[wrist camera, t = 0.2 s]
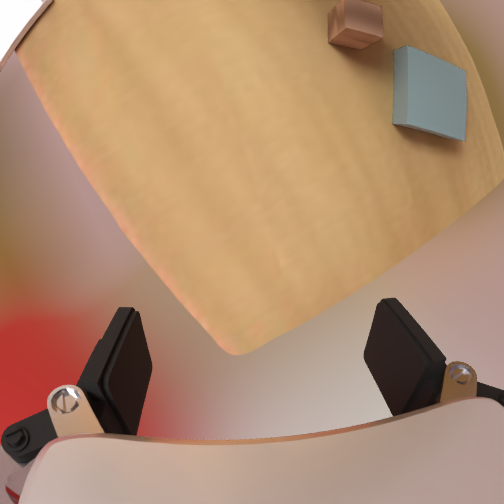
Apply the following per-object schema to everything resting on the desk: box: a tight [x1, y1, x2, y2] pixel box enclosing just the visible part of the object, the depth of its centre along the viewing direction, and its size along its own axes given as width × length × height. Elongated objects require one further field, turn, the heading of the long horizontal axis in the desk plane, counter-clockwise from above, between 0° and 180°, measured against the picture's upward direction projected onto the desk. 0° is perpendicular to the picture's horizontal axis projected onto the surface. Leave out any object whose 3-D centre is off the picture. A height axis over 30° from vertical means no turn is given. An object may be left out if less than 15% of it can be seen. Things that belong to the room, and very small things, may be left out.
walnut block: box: [328, 0, 384, 50], centre depth 27 cm, size 5×5×7 cm
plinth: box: [393, 45, 467, 141], centre depth 32 cm, size 12×12×4 cm
